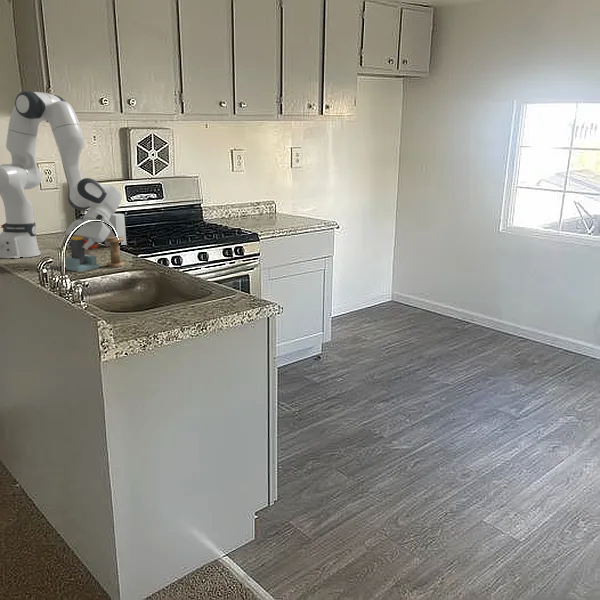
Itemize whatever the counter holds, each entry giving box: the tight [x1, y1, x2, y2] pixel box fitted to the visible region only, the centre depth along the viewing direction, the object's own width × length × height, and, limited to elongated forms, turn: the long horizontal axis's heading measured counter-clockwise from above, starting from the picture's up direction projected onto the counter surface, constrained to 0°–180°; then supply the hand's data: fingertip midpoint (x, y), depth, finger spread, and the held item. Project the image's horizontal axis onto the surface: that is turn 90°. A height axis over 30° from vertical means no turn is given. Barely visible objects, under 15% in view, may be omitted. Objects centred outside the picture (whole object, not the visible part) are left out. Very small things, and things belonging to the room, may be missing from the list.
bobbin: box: [106, 237, 126, 268], centre depth 249 cm, size 7×7×11 cm
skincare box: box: [104, 213, 127, 247], centre depth 296 cm, size 8×7×16 cm
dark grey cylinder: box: [70, 236, 86, 265], centre depth 243 cm, size 4×4×11 cm
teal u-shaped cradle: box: [57, 254, 100, 273], centre depth 244 cm, size 12×10×4 cm
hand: (76, 247), depth 242 cm, fingers open, 8 cm apart
